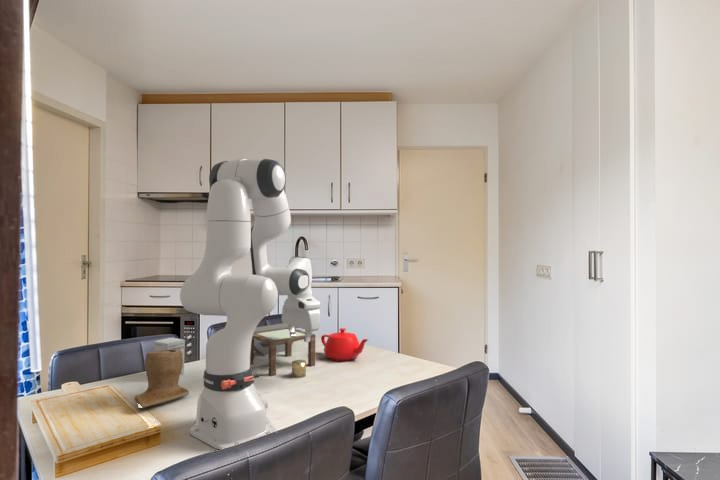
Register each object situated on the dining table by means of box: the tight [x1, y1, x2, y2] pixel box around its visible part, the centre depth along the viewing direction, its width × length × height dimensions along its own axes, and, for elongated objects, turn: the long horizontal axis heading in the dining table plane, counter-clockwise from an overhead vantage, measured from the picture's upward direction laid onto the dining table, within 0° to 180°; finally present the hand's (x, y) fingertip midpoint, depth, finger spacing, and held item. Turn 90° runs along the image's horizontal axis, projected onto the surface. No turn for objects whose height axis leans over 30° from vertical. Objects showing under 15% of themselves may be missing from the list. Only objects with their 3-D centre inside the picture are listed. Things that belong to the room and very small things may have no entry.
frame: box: [250, 327, 316, 377], centre depth 152 cm, size 19×19×12 cm
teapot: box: [320, 327, 369, 362], centre depth 162 cm, size 25×16×12 cm, turn 54°
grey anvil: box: [254, 322, 299, 356], centre depth 172 cm, size 25×8×11 cm, turn 135°
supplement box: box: [153, 337, 186, 376], centre depth 138 cm, size 7×7×13 cm
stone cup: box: [134, 349, 190, 409], centre depth 115 cm, size 15×12×15 cm
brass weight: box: [291, 359, 307, 379], centre depth 139 cm, size 5×5×5 cm
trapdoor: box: [257, 329, 306, 340], centre depth 152 cm, size 14×14×1 cm
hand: (299, 339), depth 139 cm, fingers open, 8 cm apart
